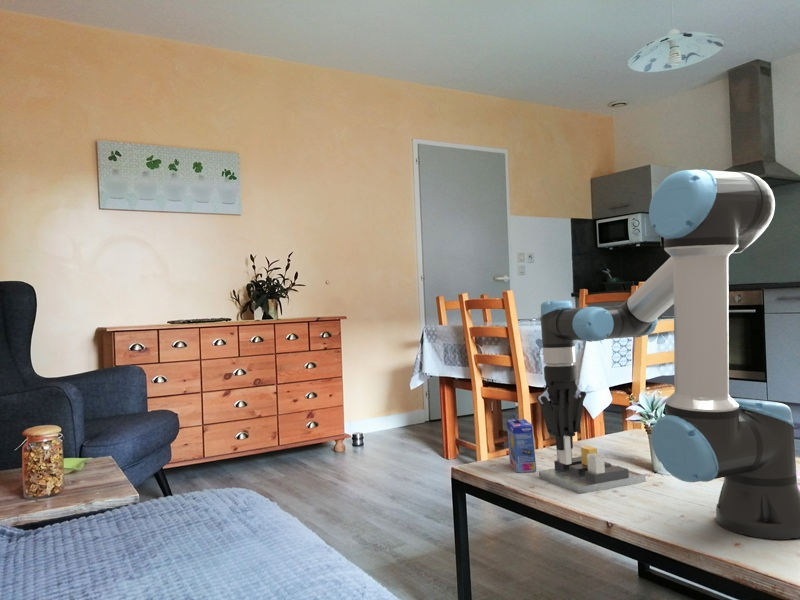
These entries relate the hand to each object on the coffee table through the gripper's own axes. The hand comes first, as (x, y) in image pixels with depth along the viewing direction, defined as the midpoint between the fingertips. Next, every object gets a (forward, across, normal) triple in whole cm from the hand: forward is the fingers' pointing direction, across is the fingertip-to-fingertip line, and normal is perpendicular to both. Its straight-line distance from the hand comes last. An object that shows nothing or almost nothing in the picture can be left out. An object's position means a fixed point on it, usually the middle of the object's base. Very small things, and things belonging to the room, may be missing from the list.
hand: (565, 463), depth 143 cm
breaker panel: (+5, -7, 0) cm, 9 cm away
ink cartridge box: (+5, +1, -18) cm, 19 cm away
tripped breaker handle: (+1, -7, 0) cm, 7 cm away
